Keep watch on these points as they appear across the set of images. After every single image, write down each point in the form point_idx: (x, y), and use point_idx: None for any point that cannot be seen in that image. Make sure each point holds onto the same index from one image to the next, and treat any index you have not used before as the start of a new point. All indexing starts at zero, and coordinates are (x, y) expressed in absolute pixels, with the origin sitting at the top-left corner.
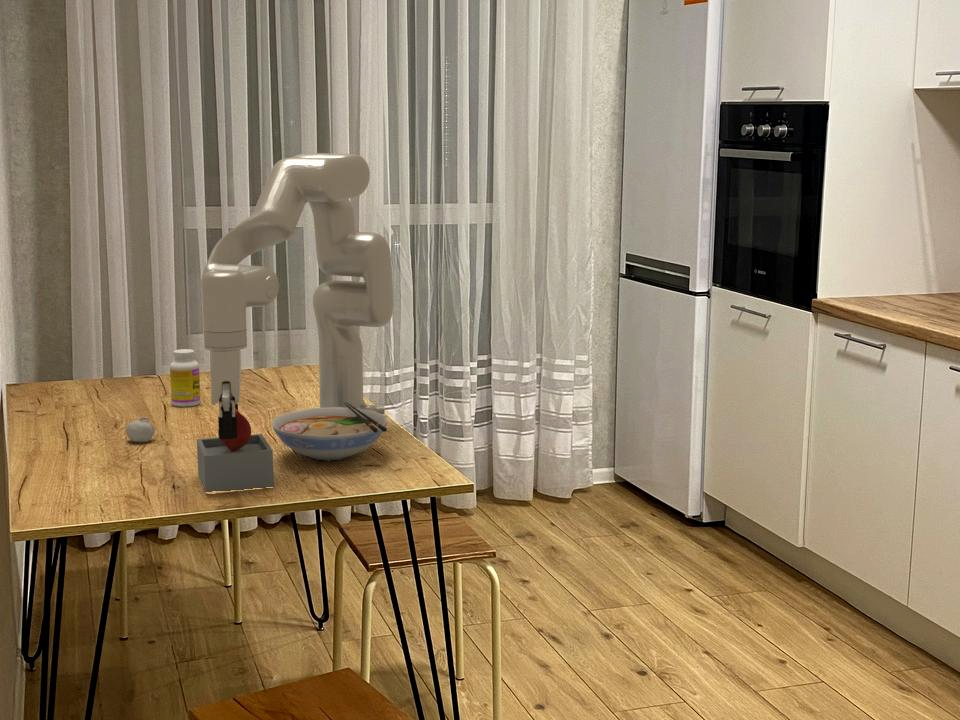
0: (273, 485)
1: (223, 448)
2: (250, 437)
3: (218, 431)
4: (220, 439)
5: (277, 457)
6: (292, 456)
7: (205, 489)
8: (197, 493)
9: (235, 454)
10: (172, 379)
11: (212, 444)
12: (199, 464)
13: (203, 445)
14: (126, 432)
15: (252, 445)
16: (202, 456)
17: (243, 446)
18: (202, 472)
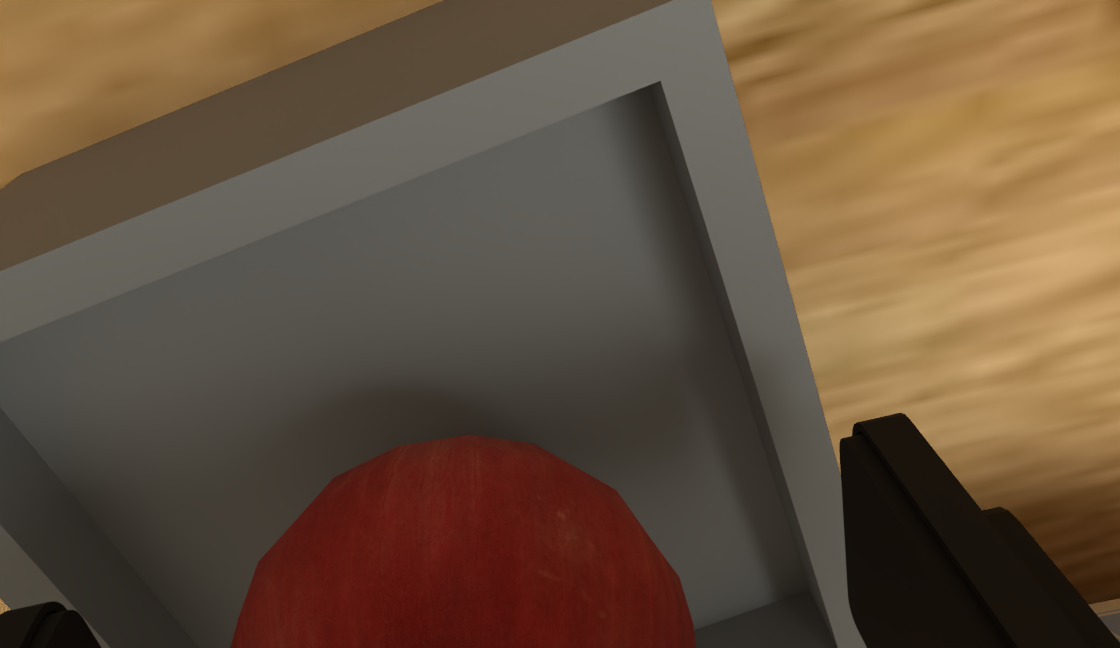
0: None
1: (599, 331)
2: (814, 583)
3: (364, 520)
4: (362, 467)
5: (1087, 453)
6: (1086, 537)
7: (6, 188)
8: (46, 83)
9: None
10: None
11: (687, 195)
12: (449, 28)
13: (340, 197)
14: None
15: (719, 565)
16: (17, 248)
17: (679, 502)
18: (175, 138)
